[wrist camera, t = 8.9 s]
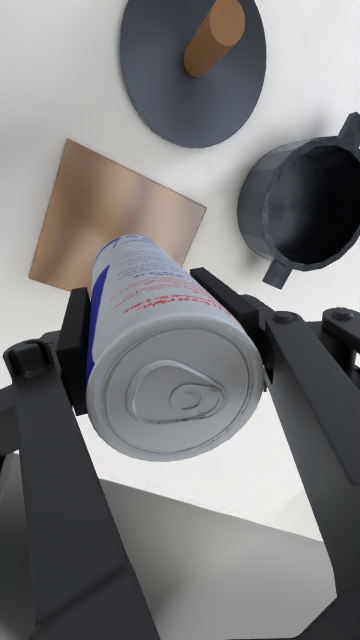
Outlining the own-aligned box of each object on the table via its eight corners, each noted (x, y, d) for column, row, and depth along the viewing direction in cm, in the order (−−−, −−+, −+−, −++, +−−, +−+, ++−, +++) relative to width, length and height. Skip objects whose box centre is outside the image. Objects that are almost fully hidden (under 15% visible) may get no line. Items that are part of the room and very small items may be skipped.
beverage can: (80, 248, 21) (45, 358, 7) (156, 223, 21) (254, 282, 8) (109, 317, 23) (125, 493, 10) (177, 293, 24) (278, 428, 10)
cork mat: (29, 277, 34) (28, 278, 33) (68, 139, 29) (67, 138, 29) (157, 317, 40) (158, 319, 39) (205, 207, 35) (206, 207, 35)
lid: (98, 103, 29) (98, 72, 21) (154, -85, 25) (179, -207, 17) (222, 173, 34) (258, 168, 27) (285, 28, 30) (349, -27, 23)
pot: (210, 256, 38) (229, 268, 32) (283, 95, 33) (321, 76, 27) (289, 290, 43) (318, 305, 37) (364, 155, 38) (410, 150, 32)
